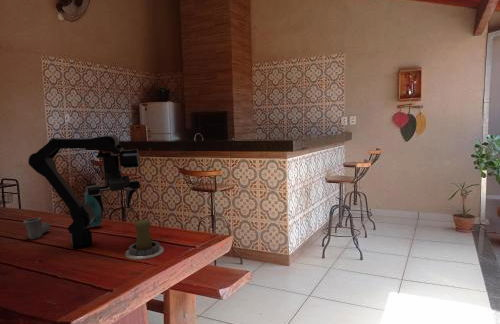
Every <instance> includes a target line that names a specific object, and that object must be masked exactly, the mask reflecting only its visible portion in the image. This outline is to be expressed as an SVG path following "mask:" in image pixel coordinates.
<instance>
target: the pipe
mask: <svg viewBox="0 0 500 324" xmlns="http://www.w3.org/2000/svg"><path fill="white" fill-rule="evenodd" d="M23 223H24V226H25V228H26V231H27V238H28V239H29V240H36V239H40V238H41V237H42V235H44V234H45V233H47V232H48V231H50V230H51V224H50V223H49V221H48V222H44V223H42V218H41V217H34V218H33V217H32V218H27V219H25V220H23Z"/></svg>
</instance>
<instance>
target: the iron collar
mask: <svg viewBox="0 0 500 324" xmlns="http://www.w3.org/2000/svg"><path fill="white" fill-rule="evenodd" d="M151 241H152V246H153V247H152V248H148V249H136V242H134V243H132V244H130V245H129V246H128V250H126V251H125V253H124V254H125V257H126V258H128V259H130V260H137V261H138V260H149V259H153V258H156V257H159V256H160V255H162V254H163V253H164V250H165V249H164V247H163V246H162V245H161V243H160V242H159V241H157V240H156V241H155V240H151Z"/></svg>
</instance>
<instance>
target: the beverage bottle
mask: <svg viewBox="0 0 500 324" xmlns="http://www.w3.org/2000/svg"><path fill="white" fill-rule="evenodd" d="M92 185H97V183H96V182H89V183H86V187H87V186H92ZM99 194H100V195H101V192H100V193H99ZM83 195H84V204H86V203H87V202H88V203H89V204H90V206H91V208H92V209H94V210H95V211H93V212H94V213H95V219H94V221H92V222H91V224H90V226H89V227H97V226H100V225H102V222H103V220H102V211H101V209H100V206H99V204H98V202H97V201H96V199H95V198H94V197H92V196H90V195H87V194H86V192H84V194H83Z"/></svg>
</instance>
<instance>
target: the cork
mask: <svg viewBox="0 0 500 324" xmlns="http://www.w3.org/2000/svg"><path fill="white" fill-rule="evenodd" d="M134 228H135V230H136V241H135V243H136V249H148V248H152V247H153V246H152V241H153V240H152V237H151V231H150V228H151V222H150V220H148V219H139V220H137V221H136V222H135V224H134Z"/></svg>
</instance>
